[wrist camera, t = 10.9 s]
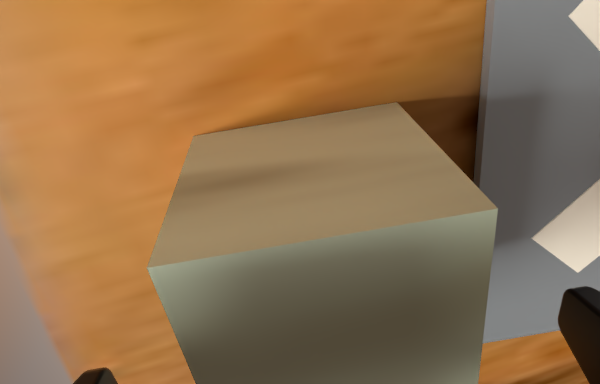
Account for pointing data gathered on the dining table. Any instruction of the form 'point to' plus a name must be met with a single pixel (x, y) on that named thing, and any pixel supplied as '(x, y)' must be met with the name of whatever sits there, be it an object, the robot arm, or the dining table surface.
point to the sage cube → (326, 255)
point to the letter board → (539, 158)
